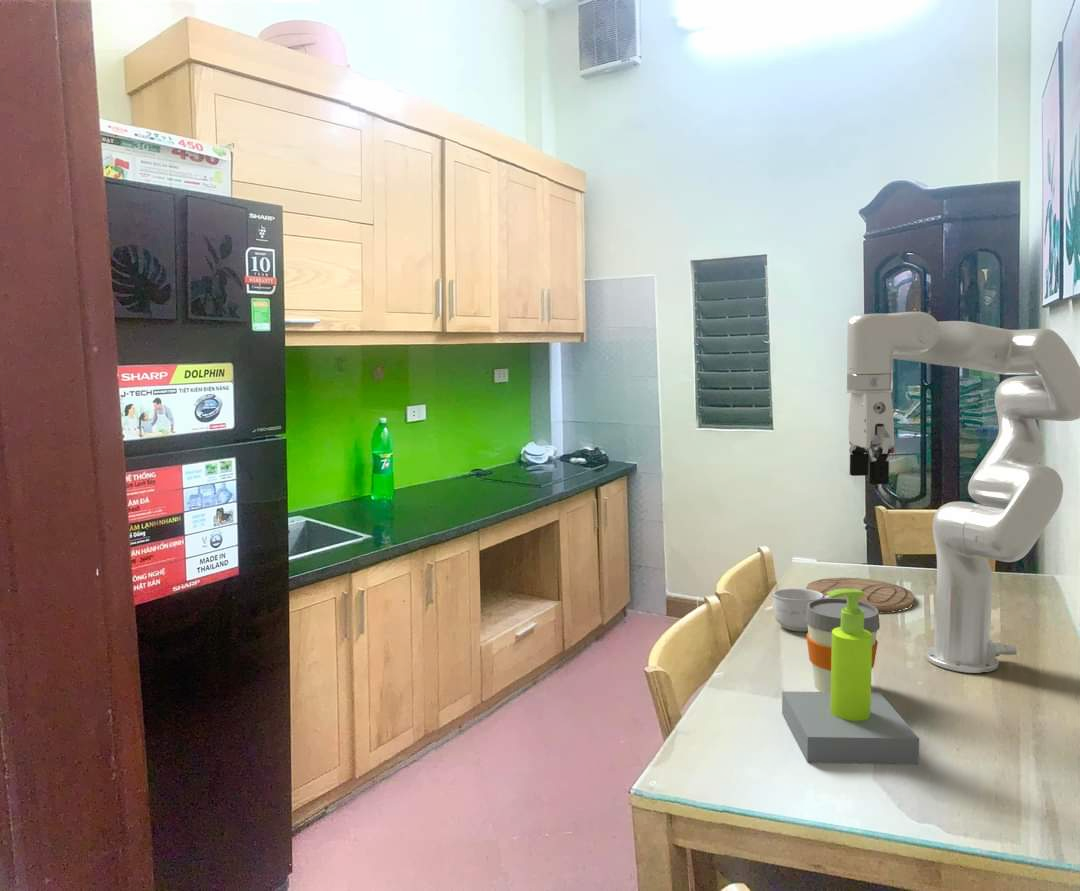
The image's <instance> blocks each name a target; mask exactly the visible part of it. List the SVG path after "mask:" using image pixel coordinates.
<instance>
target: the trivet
mask: <svg viewBox="0 0 1080 891" xmlns="http://www.w3.org/2000/svg"><path fill="white" fill-rule="evenodd" d="M805 589H808V590H814V591H817V592H820V593H822V594H823V597H825V596H827V594H826V592H829V591H832V590H836V589H859V590H861V591H863V592H864V596H859V601H861V602H864V603H867V604H870V605H872V606H874V607H875V608H877V609H878V612H892V611H899V610H903V609H905V608H909V607H910V606H911V605H913V604H914V605H915V595H914V594H913V592H912V591H910V590H909V589H907V588H905V587H902V586H900V585H898V584H895V583H891V582H887V581H882V580H877V579H876V580H875V579H871V578H870V579H869V578H861V577H829V578H828V577H827V578H822V579H821V578H820V579H818V580H814V581H811V582H810V583H808V584H807V585H806V588H805ZM837 598H842V599H847V596H842V597H837ZM914 605H913V606H914ZM909 609H910V608H909Z"/></svg>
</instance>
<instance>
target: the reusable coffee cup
mask: <svg viewBox="0 0 1080 891" xmlns="http://www.w3.org/2000/svg"><path fill="white" fill-rule="evenodd" d="M845 607H847V599H842V598H823V599H817V600H813V601H810V602H809V603H808V604H807V610H806V618H805V621H806V623H807V624H808V631H807V633H806V642H807V651H808V652H807V653H808V657H809V658H808V660H809V662H810V663H811V667H812V673H813V681H814V682H813V683H814V688H815V689H816V688H817V689H818V690H819V691H818V690H817V689H816V690H817V691H818V692H831V653H832V630H833V629H834V628H837V627H841V610H842V609H843V608H845ZM858 608H859V609H861V610H862V611H864V630H867V631H869V632H870V633H872V669H874V666H875V662H876V656H877V649H878V644H879V642H878V640H877V633H878V630H880V628H881V626H880V615H879V614H880V613H878V609H877V608H875V607H874V606H872V605H870V604H867V603H864V602H861V601H859V607H858Z"/></svg>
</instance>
